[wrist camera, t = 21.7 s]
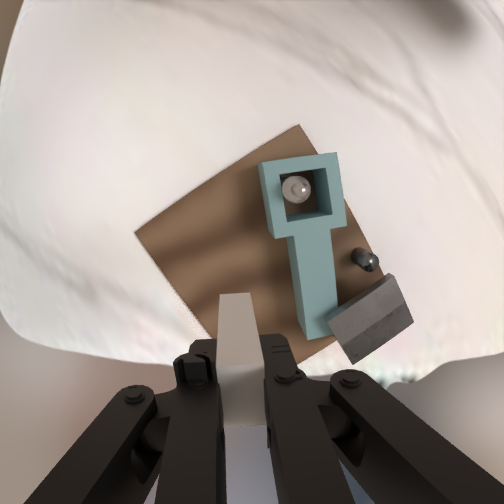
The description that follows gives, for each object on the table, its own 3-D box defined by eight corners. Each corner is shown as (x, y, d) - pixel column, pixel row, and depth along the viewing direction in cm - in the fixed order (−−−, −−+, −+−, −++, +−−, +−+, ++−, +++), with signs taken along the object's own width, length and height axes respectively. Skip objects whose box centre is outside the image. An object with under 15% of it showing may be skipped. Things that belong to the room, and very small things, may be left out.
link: (257, 164, 33) (262, 162, 28) (321, 155, 33) (336, 152, 28) (283, 323, 37) (290, 343, 32) (340, 310, 37) (355, 328, 32)
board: (136, 231, 34) (134, 232, 33) (298, 125, 33) (299, 124, 32) (254, 385, 39) (254, 388, 39) (393, 298, 38) (395, 299, 37)
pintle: (269, 184, 34) (282, 185, 26) (287, 172, 34) (307, 170, 25) (280, 203, 34) (297, 210, 26) (299, 191, 34) (322, 195, 26)
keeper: (301, 283, 36) (317, 306, 29) (361, 243, 35) (388, 257, 29) (334, 336, 38) (352, 364, 31) (389, 298, 37) (416, 320, 31)
